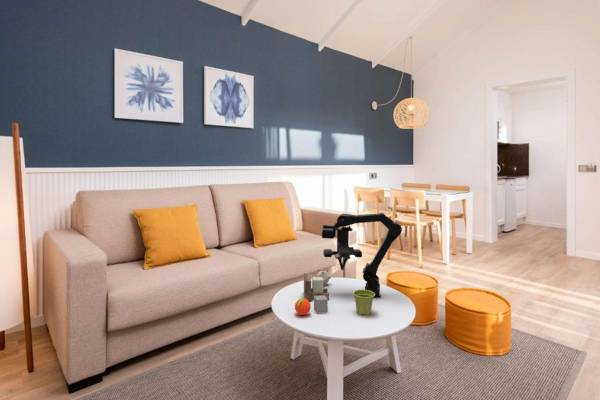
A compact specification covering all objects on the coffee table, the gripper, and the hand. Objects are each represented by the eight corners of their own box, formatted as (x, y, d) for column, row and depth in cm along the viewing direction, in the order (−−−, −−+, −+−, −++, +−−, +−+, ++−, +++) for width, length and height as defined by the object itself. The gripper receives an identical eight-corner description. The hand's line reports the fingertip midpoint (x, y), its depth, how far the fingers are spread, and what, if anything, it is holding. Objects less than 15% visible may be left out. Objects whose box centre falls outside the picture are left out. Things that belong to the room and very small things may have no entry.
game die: (325, 290, 197) (335, 275, 198) (324, 290, 189) (335, 274, 190) (311, 281, 199) (321, 265, 200) (310, 280, 191) (320, 264, 192)
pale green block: (322, 294, 180) (322, 277, 179) (323, 298, 175) (323, 280, 174) (312, 294, 180) (312, 277, 179) (312, 298, 175) (313, 280, 174)
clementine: (305, 320, 151) (305, 303, 150) (290, 316, 154) (290, 300, 153) (313, 313, 158) (313, 297, 157) (299, 310, 161) (299, 294, 160)
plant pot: (361, 318, 153) (361, 298, 152) (348, 310, 161) (348, 291, 160) (378, 314, 157) (379, 295, 156) (365, 306, 166) (365, 288, 165)
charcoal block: (324, 308, 164) (324, 295, 163) (327, 312, 159) (327, 299, 158) (313, 308, 163) (313, 296, 162) (316, 313, 158) (316, 300, 157)
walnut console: (327, 292, 183) (327, 273, 182) (329, 301, 171) (329, 281, 170) (303, 292, 183) (303, 273, 182) (304, 301, 171) (304, 281, 170)
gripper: (325, 242, 171) (325, 274, 173) (364, 243, 172) (363, 275, 174) (323, 238, 183) (323, 268, 184) (360, 238, 183) (359, 268, 185)
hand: (342, 270), depth 181 cm, fingers closed
